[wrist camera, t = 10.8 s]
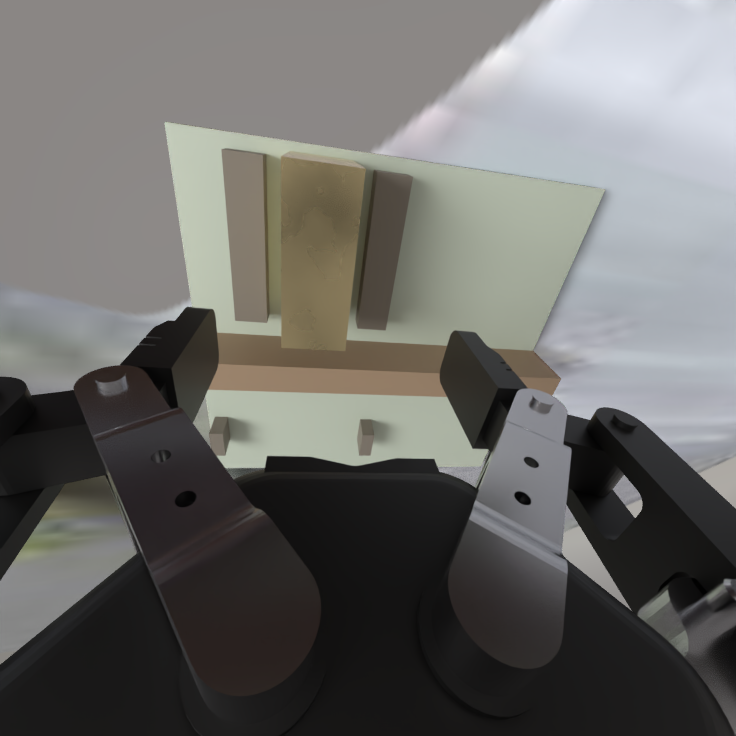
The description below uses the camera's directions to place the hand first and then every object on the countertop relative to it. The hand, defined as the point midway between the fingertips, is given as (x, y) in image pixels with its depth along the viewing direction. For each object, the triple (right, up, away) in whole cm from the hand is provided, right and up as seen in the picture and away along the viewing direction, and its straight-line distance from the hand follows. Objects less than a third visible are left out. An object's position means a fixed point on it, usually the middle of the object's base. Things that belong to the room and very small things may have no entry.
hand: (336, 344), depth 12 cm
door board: (+2, +1, +16) cm, 16 cm away
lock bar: (-2, +7, +10) cm, 12 cm away
